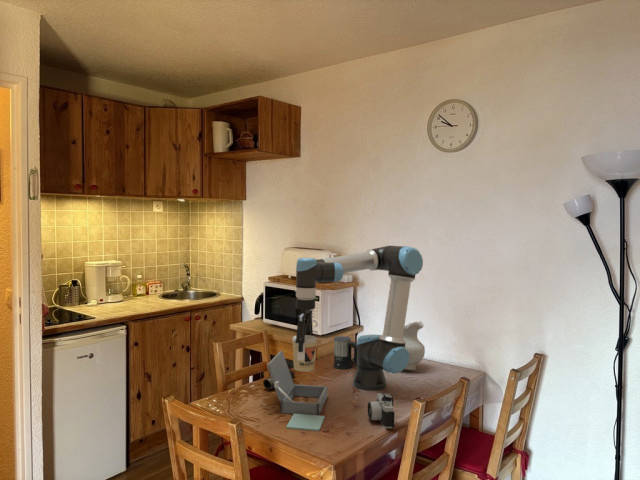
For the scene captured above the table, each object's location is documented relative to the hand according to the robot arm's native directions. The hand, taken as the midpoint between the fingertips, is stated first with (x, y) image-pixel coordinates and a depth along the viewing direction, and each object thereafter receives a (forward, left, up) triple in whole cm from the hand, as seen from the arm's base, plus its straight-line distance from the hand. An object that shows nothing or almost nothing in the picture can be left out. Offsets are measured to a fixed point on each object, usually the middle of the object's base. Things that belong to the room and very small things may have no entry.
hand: (304, 356), depth 182 cm
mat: (-3, +8, -22) cm, 24 cm away
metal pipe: (+20, -24, -25) cm, 40 cm away
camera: (-29, 0, -23) cm, 37 cm away
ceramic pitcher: (-38, -68, -22) cm, 81 cm away
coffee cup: (0, 0, -5) cm, 5 cm away
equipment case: (+1, -9, -22) cm, 24 cm away
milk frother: (-9, -66, -23) cm, 71 cm away
